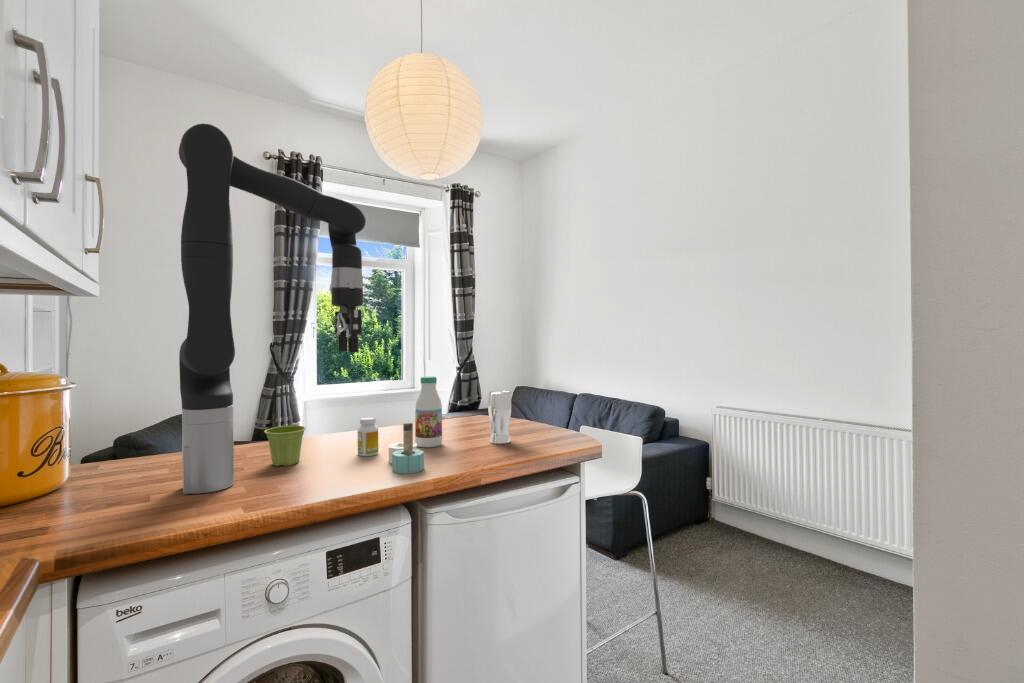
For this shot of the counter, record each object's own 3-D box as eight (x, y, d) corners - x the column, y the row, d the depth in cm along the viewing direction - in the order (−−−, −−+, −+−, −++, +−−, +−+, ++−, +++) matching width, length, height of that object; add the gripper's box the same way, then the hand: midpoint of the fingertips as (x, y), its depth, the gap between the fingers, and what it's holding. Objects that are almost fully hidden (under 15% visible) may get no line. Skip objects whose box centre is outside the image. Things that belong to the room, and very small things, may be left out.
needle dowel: (405, 470, 115) (405, 424, 114) (402, 468, 116) (401, 423, 116) (414, 469, 116) (414, 423, 116) (410, 467, 118) (410, 422, 117)
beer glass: (515, 441, 146) (515, 391, 145) (503, 445, 140) (503, 394, 140) (496, 438, 149) (496, 390, 149) (483, 442, 144) (483, 392, 143)
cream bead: (403, 465, 119) (402, 449, 119) (383, 461, 123) (382, 446, 122) (422, 459, 125) (422, 444, 125) (402, 455, 128) (402, 440, 128)
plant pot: (276, 470, 115) (276, 434, 115) (257, 464, 121) (257, 429, 120) (313, 462, 122) (312, 428, 122) (293, 456, 128) (293, 424, 128)
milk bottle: (414, 443, 144) (413, 376, 143) (439, 441, 146) (439, 375, 145) (417, 449, 136) (416, 378, 136) (444, 447, 138) (443, 377, 138)
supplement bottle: (381, 451, 133) (381, 416, 133) (373, 456, 128) (373, 420, 127) (362, 451, 134) (362, 416, 133) (354, 456, 128) (354, 420, 128)
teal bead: (400, 475, 111) (399, 458, 111) (388, 468, 117) (388, 451, 117) (427, 470, 115) (427, 453, 115) (415, 463, 121) (415, 447, 121)
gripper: (324, 288, 124) (324, 351, 125) (340, 284, 113) (340, 353, 113) (353, 290, 129) (354, 350, 129) (371, 285, 117) (372, 352, 117)
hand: (347, 351), depth 121 cm, fingers open, 8 cm apart
